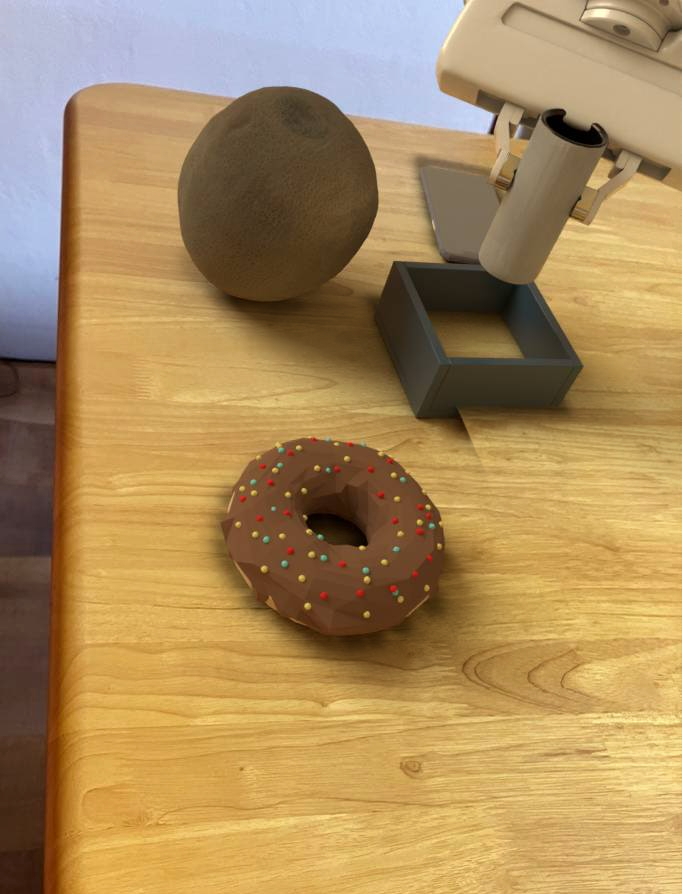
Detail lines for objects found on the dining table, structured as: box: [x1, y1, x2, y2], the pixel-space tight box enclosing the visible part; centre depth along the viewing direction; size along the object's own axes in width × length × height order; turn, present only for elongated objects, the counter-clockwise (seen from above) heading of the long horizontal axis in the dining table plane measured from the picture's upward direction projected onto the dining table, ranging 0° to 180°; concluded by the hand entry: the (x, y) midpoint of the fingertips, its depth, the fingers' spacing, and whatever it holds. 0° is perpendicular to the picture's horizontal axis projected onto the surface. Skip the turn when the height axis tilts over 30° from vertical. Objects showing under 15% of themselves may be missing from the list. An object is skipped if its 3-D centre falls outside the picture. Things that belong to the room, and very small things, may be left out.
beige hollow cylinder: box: [478, 108, 609, 284], centre depth 59 cm, size 4×4×10 cm
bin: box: [373, 260, 585, 419], centre depth 68 cm, size 12×12×5 cm
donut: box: [219, 435, 446, 637], centre depth 53 cm, size 14×14×5 cm
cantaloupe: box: [176, 85, 380, 302], centre depth 65 cm, size 14×14×15 cm
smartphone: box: [419, 165, 501, 265], centre depth 83 cm, size 8×1×15 cm
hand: (539, 202), depth 58 cm, fingers closed on beige hollow cylinder, 4 cm apart
